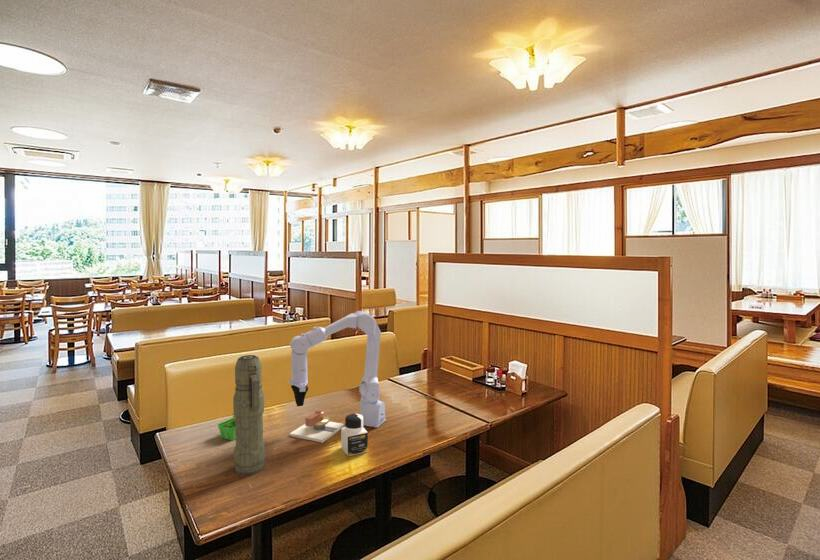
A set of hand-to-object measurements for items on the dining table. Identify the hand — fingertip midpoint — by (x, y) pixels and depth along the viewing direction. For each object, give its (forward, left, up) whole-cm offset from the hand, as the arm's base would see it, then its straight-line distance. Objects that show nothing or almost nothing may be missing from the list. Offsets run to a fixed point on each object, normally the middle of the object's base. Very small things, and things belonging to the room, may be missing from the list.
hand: (299, 405), depth 158 cm
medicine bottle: (-26, +4, -11) cm, 28 cm away
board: (-6, -4, -10) cm, 12 cm away
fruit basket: (+20, +10, -11) cm, 25 cm away
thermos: (-2, +28, -11) cm, 30 cm away
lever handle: (-5, -3, -7) cm, 9 cm away
